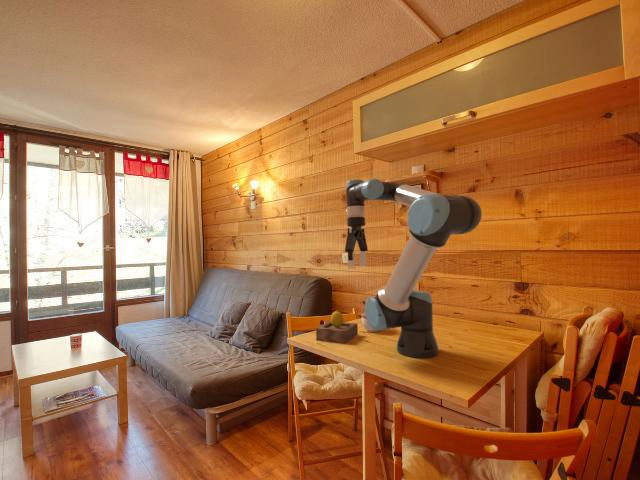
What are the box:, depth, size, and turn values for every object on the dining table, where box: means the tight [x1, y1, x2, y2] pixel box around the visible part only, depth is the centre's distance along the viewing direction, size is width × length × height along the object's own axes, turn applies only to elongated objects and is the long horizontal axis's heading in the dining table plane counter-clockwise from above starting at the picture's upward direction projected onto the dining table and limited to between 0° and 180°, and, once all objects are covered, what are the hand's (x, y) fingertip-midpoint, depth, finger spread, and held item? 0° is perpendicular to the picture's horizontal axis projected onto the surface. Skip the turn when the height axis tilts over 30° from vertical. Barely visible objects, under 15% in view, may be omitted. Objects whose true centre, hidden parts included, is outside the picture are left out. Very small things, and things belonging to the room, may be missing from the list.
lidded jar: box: [360, 312, 380, 333], centre depth 156 cm, size 11×11×9 cm
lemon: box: [330, 310, 344, 328], centre depth 146 cm, size 6×6×8 cm
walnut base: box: [315, 320, 359, 344], centre depth 146 cm, size 14×14×5 cm
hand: (357, 267), depth 137 cm, fingers open, 13 cm apart
